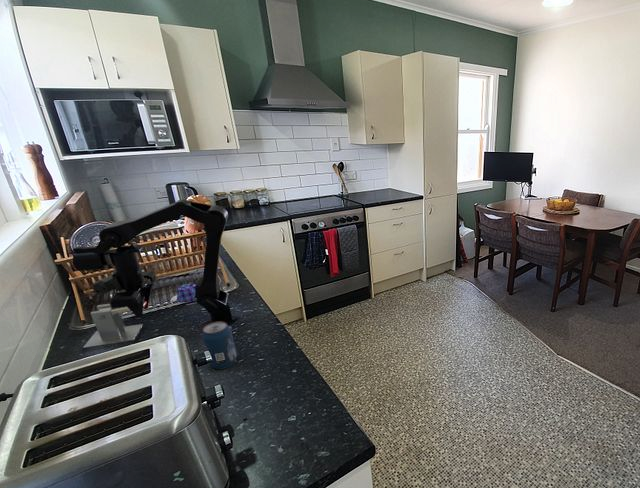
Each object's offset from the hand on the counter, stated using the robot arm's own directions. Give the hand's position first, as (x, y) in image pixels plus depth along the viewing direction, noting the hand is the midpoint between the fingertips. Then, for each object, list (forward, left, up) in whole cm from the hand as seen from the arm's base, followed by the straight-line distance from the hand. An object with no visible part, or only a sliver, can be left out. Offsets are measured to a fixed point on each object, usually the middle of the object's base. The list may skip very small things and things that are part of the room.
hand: (142, 312), depth 106 cm
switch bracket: (+6, +6, -8) cm, 11 cm away
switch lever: (+3, +3, +1) cm, 4 cm away
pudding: (+10, -20, -8) cm, 23 cm away
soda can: (-33, -1, -8) cm, 34 cm away
